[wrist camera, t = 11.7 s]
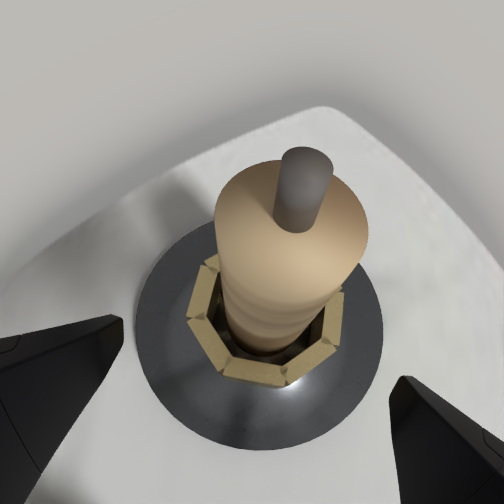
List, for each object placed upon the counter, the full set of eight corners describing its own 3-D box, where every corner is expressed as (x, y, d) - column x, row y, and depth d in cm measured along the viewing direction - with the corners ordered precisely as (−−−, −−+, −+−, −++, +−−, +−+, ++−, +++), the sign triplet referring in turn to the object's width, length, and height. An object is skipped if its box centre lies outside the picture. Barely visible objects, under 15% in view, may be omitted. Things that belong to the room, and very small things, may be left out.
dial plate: (226, 491, 13) (224, 513, 10) (105, 287, 19) (82, 261, 16) (415, 347, 18) (447, 332, 15) (286, 191, 24) (293, 156, 21)
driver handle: (283, 367, 17) (383, 283, 5) (215, 339, 17) (170, 201, 6) (308, 303, 19) (400, 145, 7) (244, 278, 19) (254, 95, 8)
